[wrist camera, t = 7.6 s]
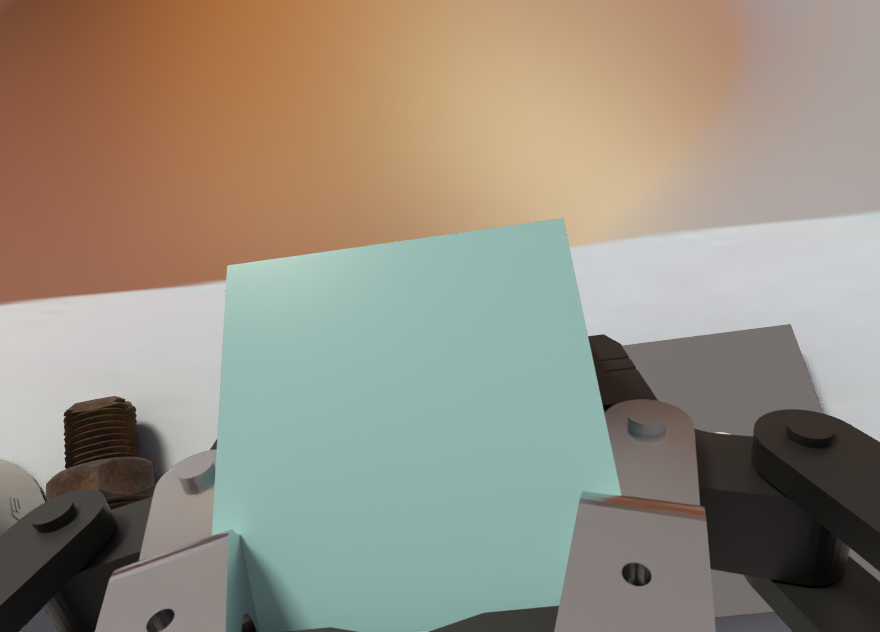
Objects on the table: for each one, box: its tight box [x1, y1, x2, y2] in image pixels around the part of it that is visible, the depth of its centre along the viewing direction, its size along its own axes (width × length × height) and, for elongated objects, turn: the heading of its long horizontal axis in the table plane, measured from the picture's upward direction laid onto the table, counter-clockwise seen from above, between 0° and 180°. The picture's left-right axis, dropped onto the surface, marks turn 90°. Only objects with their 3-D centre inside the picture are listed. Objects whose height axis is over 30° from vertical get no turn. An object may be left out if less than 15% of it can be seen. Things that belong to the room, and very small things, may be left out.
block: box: [212, 218, 622, 632], centre depth 11 cm, size 5×5×9 cm
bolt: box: [46, 396, 156, 510], centre depth 25 cm, size 6×5×15 cm
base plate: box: [622, 324, 880, 617], centre depth 24 cm, size 12×12×4 cm
